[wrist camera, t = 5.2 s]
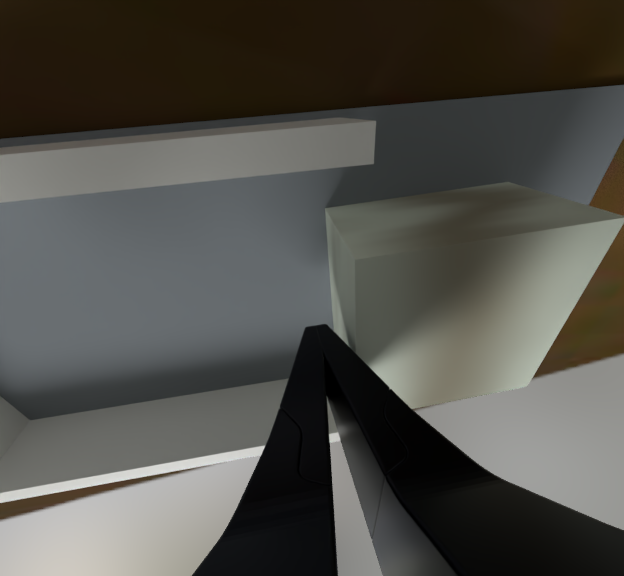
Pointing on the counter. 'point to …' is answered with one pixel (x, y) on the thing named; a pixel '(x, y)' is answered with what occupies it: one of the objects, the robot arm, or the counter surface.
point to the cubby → (176, 410)
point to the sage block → (460, 284)
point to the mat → (246, 247)
